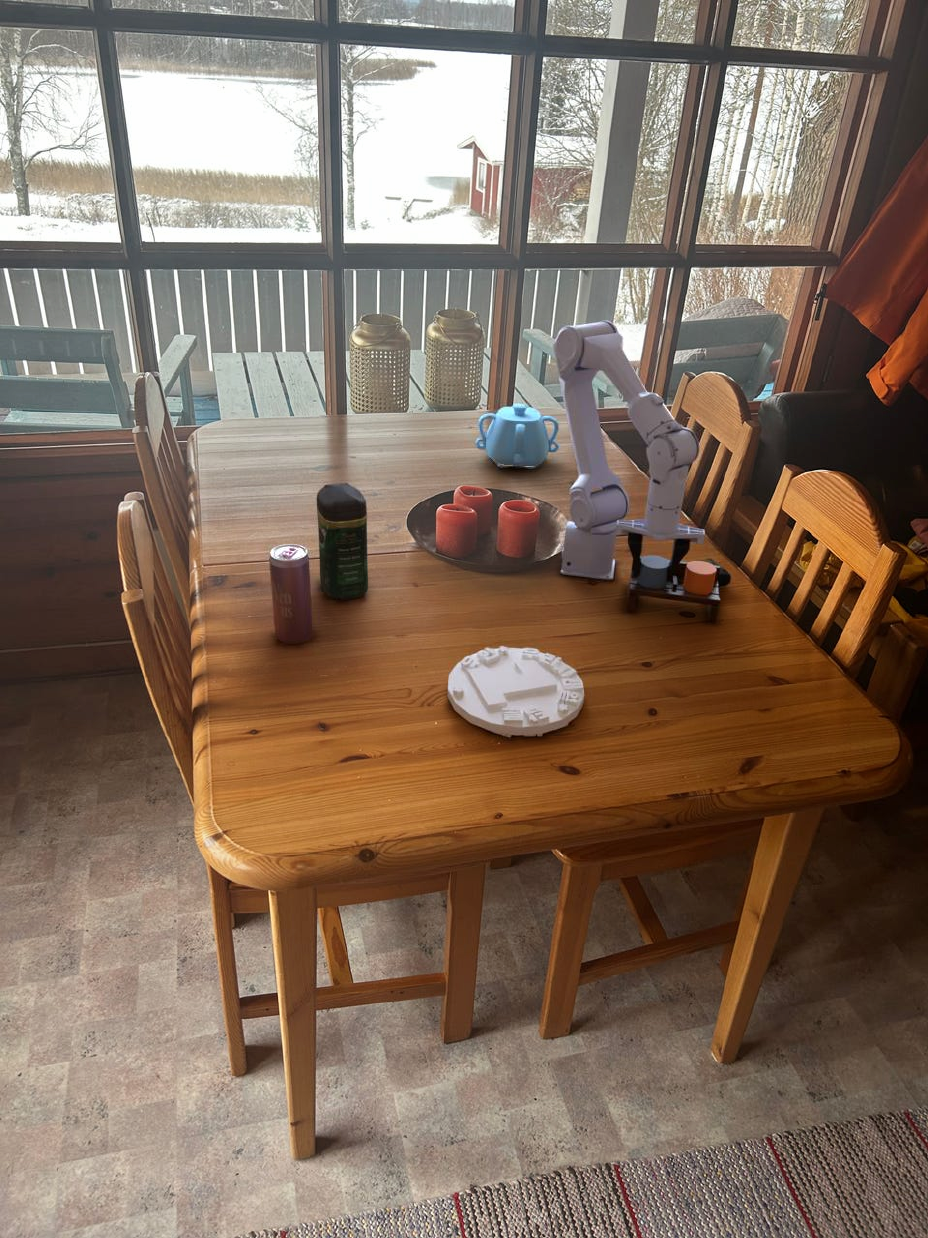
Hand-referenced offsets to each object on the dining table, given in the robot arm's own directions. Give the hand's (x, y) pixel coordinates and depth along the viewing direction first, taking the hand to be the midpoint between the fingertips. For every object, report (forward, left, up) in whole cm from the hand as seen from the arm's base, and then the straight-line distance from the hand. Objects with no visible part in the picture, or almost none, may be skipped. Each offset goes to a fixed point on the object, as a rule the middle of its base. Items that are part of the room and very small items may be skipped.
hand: (652, 575), depth 158 cm
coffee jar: (-53, -9, -6) cm, 54 cm away
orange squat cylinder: (+8, 0, -1) cm, 8 cm away
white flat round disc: (-19, -34, -6) cm, 39 cm away
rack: (+4, 0, -5) cm, 7 cm away
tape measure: (+10, +10, -6) cm, 16 cm away
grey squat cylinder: (0, 0, -1) cm, 1 cm away
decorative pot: (-33, +60, -6) cm, 69 cm away
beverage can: (-56, -26, -6) cm, 62 cm away
